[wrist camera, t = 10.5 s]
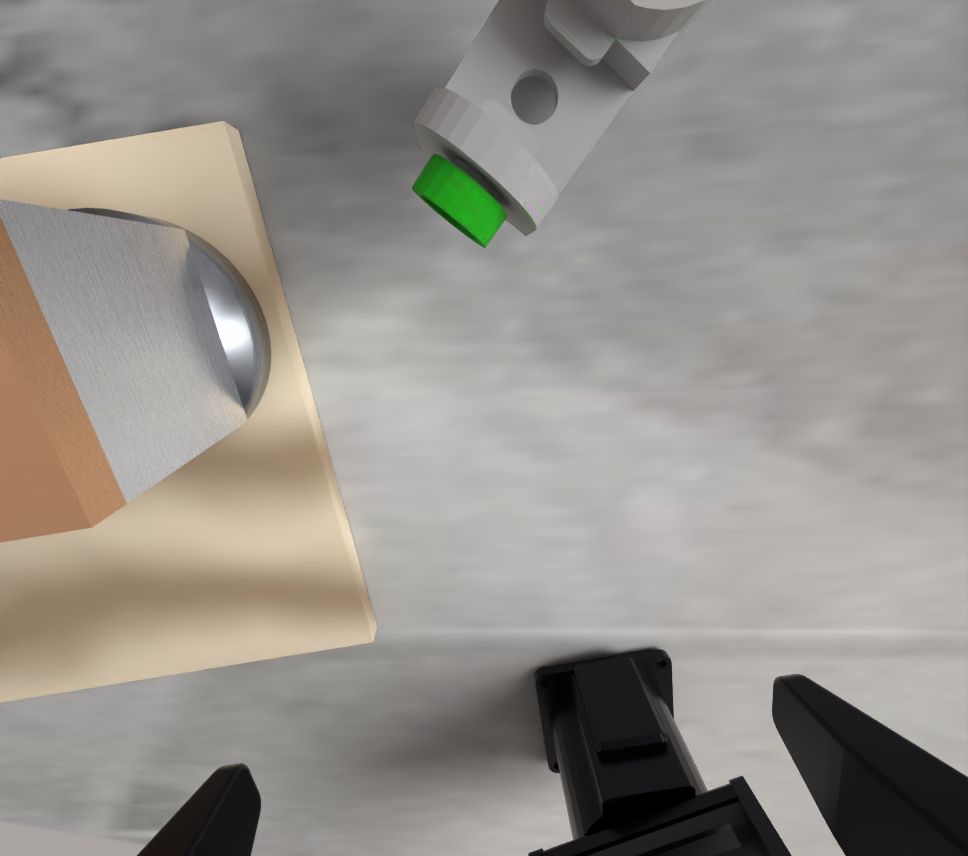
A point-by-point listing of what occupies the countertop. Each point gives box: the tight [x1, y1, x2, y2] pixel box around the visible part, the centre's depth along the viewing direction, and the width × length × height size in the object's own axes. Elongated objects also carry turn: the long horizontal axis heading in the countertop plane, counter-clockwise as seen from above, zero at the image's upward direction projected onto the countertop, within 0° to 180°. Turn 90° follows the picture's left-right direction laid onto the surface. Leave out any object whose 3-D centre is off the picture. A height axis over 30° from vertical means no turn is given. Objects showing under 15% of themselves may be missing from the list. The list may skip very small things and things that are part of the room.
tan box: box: [0, 199, 248, 543], centre depth 12 cm, size 6×6×7 cm
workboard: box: [0, 121, 377, 703], centre depth 18 cm, size 20×17×1 cm
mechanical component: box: [412, 0, 715, 248], centre depth 11 cm, size 3×10×10 cm, turn 143°
